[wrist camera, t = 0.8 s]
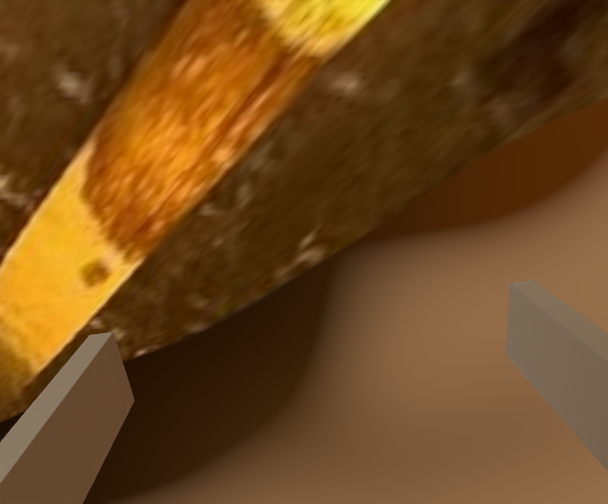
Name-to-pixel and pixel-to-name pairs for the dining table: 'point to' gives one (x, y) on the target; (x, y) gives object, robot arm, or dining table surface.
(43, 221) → the dining table surface
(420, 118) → the dining table surface
